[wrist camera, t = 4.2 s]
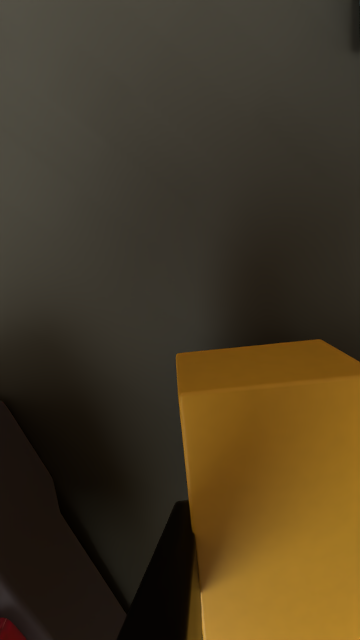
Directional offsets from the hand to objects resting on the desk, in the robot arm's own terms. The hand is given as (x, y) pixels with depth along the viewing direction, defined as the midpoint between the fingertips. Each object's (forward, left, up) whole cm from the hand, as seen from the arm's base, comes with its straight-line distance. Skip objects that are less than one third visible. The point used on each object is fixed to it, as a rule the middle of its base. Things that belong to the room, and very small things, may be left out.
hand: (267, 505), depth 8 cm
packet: (0, 0, -1) cm, 1 cm away
